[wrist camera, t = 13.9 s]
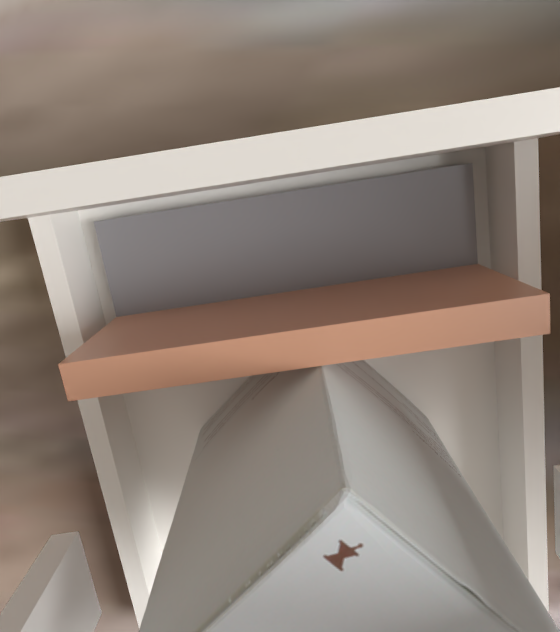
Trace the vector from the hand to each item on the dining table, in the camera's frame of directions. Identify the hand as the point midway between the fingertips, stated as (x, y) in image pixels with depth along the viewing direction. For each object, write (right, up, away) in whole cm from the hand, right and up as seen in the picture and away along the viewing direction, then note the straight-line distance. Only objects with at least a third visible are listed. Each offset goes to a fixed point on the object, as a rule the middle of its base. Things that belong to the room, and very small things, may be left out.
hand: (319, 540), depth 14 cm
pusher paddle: (-1, +9, +6) cm, 11 cm away
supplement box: (0, +2, +9) cm, 9 cm away
